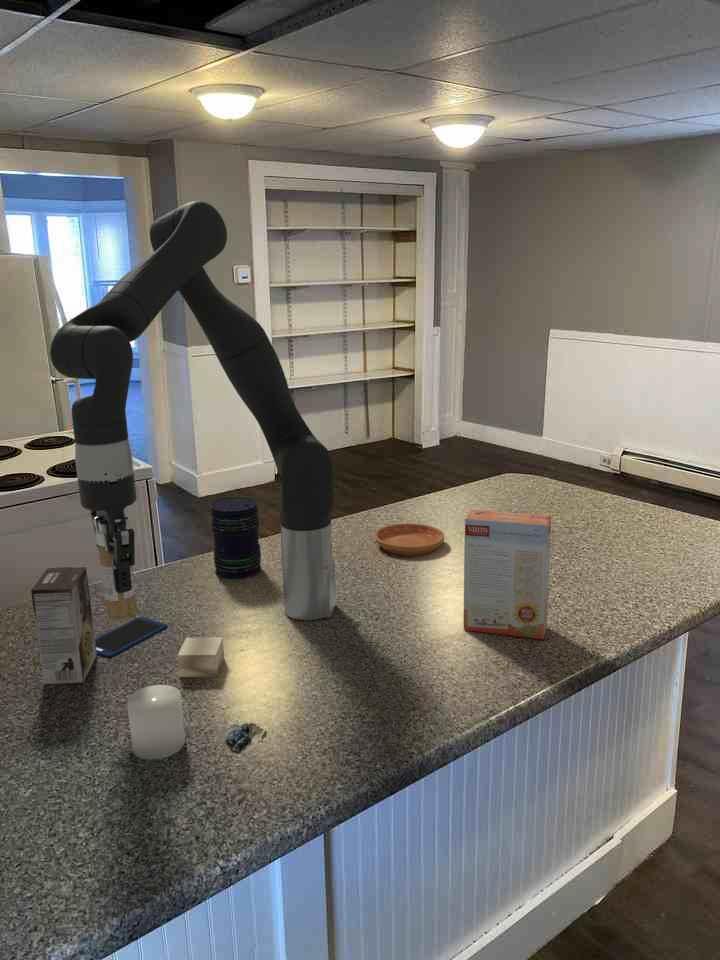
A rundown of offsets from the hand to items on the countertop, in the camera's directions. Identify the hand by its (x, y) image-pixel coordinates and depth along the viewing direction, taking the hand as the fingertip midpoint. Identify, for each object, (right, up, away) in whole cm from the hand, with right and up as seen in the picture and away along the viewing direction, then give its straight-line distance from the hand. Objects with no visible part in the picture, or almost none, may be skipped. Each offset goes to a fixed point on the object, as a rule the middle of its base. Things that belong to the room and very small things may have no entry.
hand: (118, 585), depth 113 cm
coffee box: (-12, -16, +13) cm, 24 cm away
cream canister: (+8, -21, -7) cm, 23 cm away
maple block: (+9, -15, +13) cm, 22 cm away
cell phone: (-6, -13, +24) cm, 28 cm away
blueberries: (+19, -21, -6) cm, 29 cm away
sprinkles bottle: (0, -5, +1) cm, 5 cm away
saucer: (+46, 0, +67) cm, 81 cm away
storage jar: (+9, -4, +53) cm, 54 cm away
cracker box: (+61, -11, +25) cm, 66 cm away
